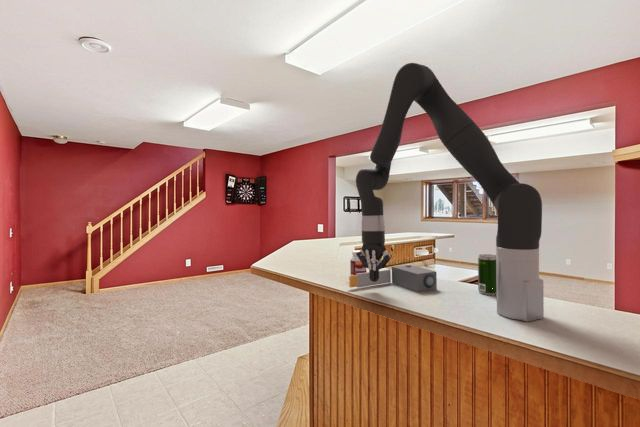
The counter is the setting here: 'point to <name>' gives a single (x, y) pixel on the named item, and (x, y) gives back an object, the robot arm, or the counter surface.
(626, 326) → the counter surface
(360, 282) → the grey orange flat panel
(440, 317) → the counter surface
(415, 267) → the camera body
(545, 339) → the counter surface
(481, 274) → the beer can
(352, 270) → the pill bottle
